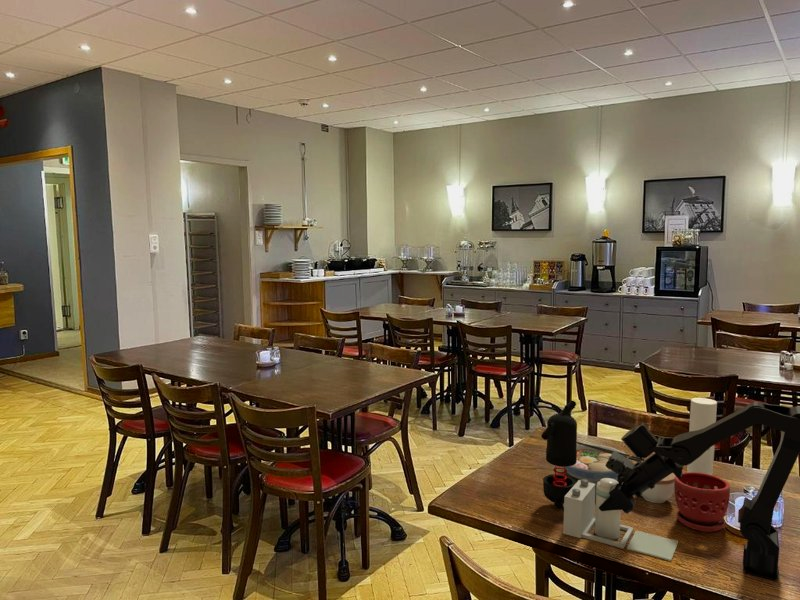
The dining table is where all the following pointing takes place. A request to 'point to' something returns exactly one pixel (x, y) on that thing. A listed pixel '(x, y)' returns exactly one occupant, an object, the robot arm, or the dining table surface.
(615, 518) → the cartridge
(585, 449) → the ramen bowl
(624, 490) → the robot arm
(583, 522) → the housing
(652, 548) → the mat
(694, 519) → the plant pot
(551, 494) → the black spring figurine
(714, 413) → the cylindrical container
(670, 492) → the lidded jar
